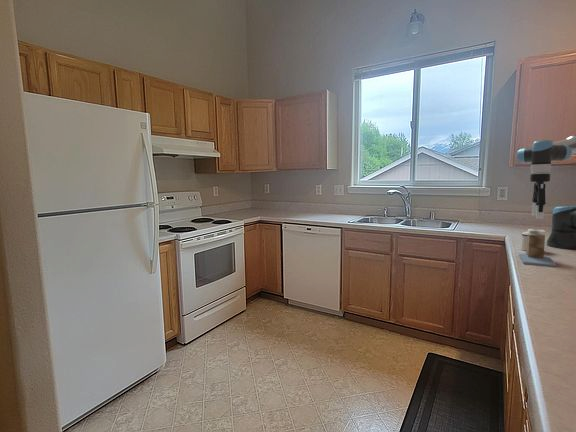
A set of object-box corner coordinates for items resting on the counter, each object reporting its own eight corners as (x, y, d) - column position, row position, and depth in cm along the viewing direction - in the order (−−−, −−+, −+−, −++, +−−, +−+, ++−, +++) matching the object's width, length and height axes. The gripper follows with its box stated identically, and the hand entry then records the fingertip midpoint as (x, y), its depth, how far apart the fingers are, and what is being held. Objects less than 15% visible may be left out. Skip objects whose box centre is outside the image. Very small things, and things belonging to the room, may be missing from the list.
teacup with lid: (541, 252, 170) (543, 231, 168) (520, 250, 175) (521, 229, 174) (540, 248, 179) (542, 227, 178) (520, 246, 185) (522, 226, 183)
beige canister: (541, 255, 160) (543, 229, 159) (543, 258, 155) (545, 231, 154) (526, 254, 163) (528, 229, 162) (528, 256, 158) (529, 230, 157)
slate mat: (548, 257, 159) (548, 255, 159) (556, 266, 144) (556, 264, 144) (518, 255, 165) (519, 253, 165) (523, 263, 150) (523, 261, 150)
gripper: (555, 173, 142) (552, 220, 144) (545, 173, 163) (542, 214, 166) (534, 173, 146) (531, 220, 148) (527, 173, 167) (524, 214, 169)
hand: (537, 217), depth 157 cm, fingers open, 13 cm apart
